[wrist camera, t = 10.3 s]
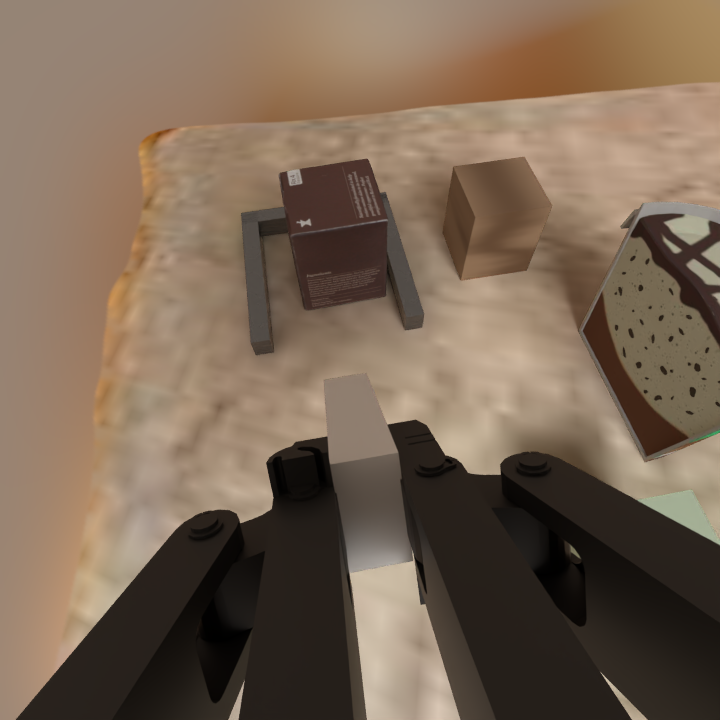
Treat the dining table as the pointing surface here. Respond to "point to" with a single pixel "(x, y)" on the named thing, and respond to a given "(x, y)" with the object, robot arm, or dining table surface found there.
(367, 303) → the dining table surface
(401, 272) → the corral
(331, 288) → the box
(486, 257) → the walnut block
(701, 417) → the food container
